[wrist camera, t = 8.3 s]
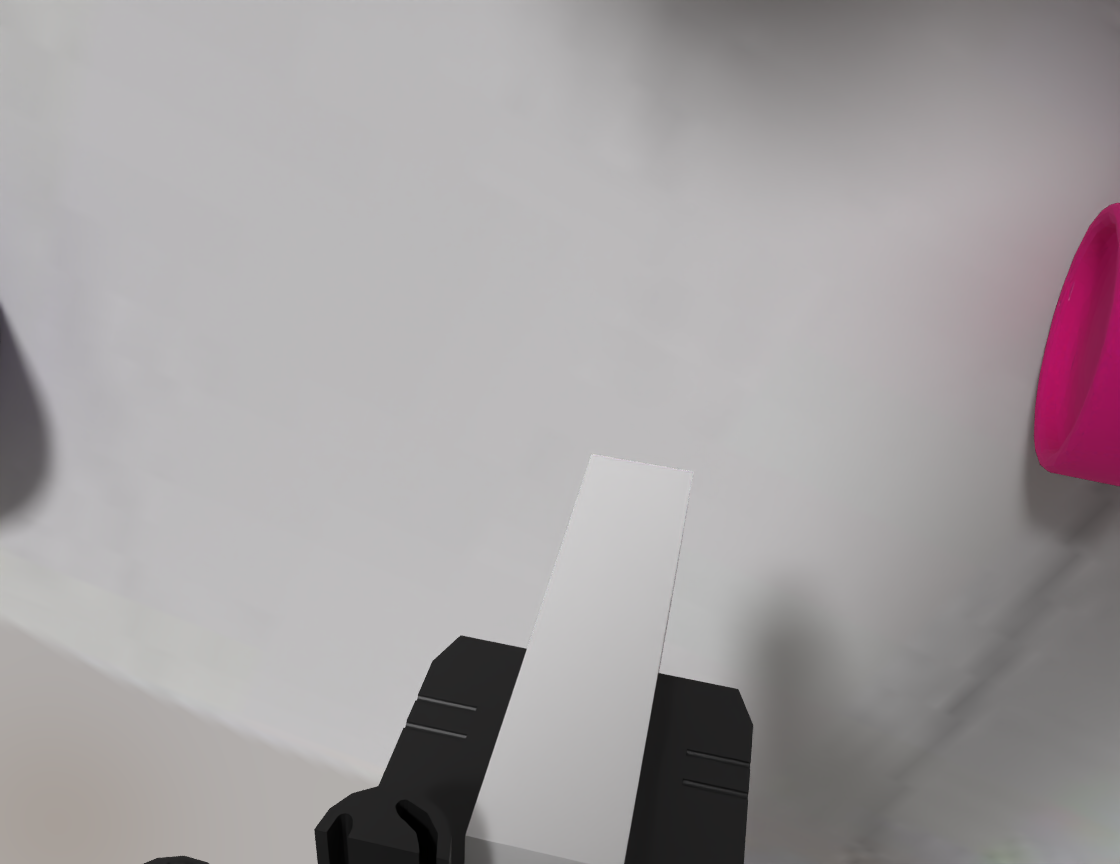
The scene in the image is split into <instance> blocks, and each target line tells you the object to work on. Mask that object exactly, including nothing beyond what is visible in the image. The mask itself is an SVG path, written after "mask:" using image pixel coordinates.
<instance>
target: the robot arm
mask: <svg viewBox="0 0 1120 864" xmlns="http://www.w3.org/2000/svg"><path fill="white" fill-rule="evenodd" d="M692 478H693V471H687V470H681V469H675V468H670V467H664V466H658V465H653V464H647V463H641V462H635V461H630V460H624V459H618V458H613V457H607V456H601V455H595V454H591V457H590V460H589V463H588V466H587V469H586V472H585V475H584V478H583V481H582V484H581V487H580V490H579V493H578V496H577V499H576V502H575V505H574V508H573V511H572V515H571V518H570V521H569V524H568V527H567V530H566V533H565V536H564V539H563V542H562V545H561V548H560V551H559V554H558V557H557V560H556V563H555V566H554V569H553V572H552V575H551V578H550V581H549V584H548V587H547V590H546V593H545V596H544V599H543V602H542V605H541V608H540V611H539V614H538V617H537V620H536V623H535V626H534V629H533V632H532V635H531V638H530V641H529V644H528V647H527V649H525V648H520V647H515V646H510V645H505V644H501V643H496V642H491V641H486V640H481V639H476V638H471V637H466V636H460V637H458V638H457V639H456V640H455V641H454V642H453V643H452V644H451V645H450V646H449V647H447V648H446V649H445V650H444V651H443V652H442V653H441V654H440V655H439V656H438V657H437V658H435V659H434V660H433V661H432V663H431V666H430V668H429V670H428V673H427V675H426V677H425V680H424V682H423V684H422V687H421V689H420V691H419V694H418V699H417V701H415V703H414V705H413V707H412V710H411V712H410V714H409V717H408V719H407V723H406V727H405V728H403V731H402V733H401V735H400V737H399V740H398V742H397V744H396V747H395V749H394V751H393V754H392V756H391V758H390V761H389V763H388V765H387V768H386V770H385V772H384V774H383V777H382V779H381V781H380V784H379V786H377V787H374V788H370V789H367V790H363V791H359V792H356V793H352V794H351V795H349V796H348V797H346V798H345V799H343V800H342V801H340V802H339V803H337V804H336V805H334V806H333V807H331V808H330V809H329V810H328V812H327V813H326V814H325V816H324V817H323V819H322V820H321V821H320V822H319V824H318V825H317V827H316V828H315V840H316V850H317V860H318V864H744V851H745V836H746V822H747V807H748V800H747V799H748V792H749V778H750V762H751V748H752V734H753V724H752V721H751V719H750V716H749V714H748V711H747V709H746V707H745V704H744V702H743V699H742V697H741V695H740V692H739V690H738V689H735V688H730V687H725V686H720V685H715V684H710V683H705V682H700V681H695V680H690V679H685V678H680V677H675V676H670V675H665V674H661V673H659V669H660V663H661V658H662V652H663V646H664V641H665V635H666V629H667V624H668V618H669V612H670V607H671V601H672V595H673V589H674V583H675V577H676V571H677V565H678V560H679V554H680V548H681V542H682V536H683V530H684V524H685V519H686V513H687V507H688V501H689V495H690V489H691V483H692ZM144 864H209V863H207V862H204V861H201V860H197V859H194V858H190V857H187V856H178V857H177V856H176V857H165V858H156V859H154V860H151V861H149V862H147V863H144Z"/></svg>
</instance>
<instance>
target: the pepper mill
mask: <svg viewBox="0 0 1120 864" xmlns="http://www.w3.org/2000/svg"><path fill="white" fill-rule="evenodd" d="M1034 442H1035V451H1036V454H1037V457H1038V460H1039V463H1040V465H1041V466H1042V467H1044V468H1045V469H1046V470H1047V471H1049V472H1051V473H1056V474H1061V475H1066V476H1071V477H1076V478H1081V479H1086V480H1091V481H1096V482H1100V483H1105V484H1110V485H1115V486H1120V203H1115V204H1111V205H1109V206H1108V207H1107V208H1105V209H1104V210H1102V211H1101V212H1100V213H1099V215H1098V216H1097V217H1096V219H1095V220H1094V221H1093V222H1092V224H1091V225H1090V226H1089V228H1088V230H1087V232H1086V234H1085V236H1084V238H1083V240H1082V242H1081V244H1080V246H1079V248H1078V250H1077V252H1076V254H1075V256H1074V259H1073V261H1072V264H1071V266H1070V269H1069V272H1068V274H1067V277H1066V279H1065V282H1064V285H1063V287H1062V290H1061V294H1060V297H1059V300H1058V303H1057V306H1056V309H1055V313H1054V316H1053V320H1052V324H1051V328H1050V332H1049V336H1048V340H1047V344H1046V348H1045V352H1044V357H1043V362H1042V366H1041V371H1040V376H1039V383H1038V390H1037V397H1036V405H1035V422H1034Z"/></svg>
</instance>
